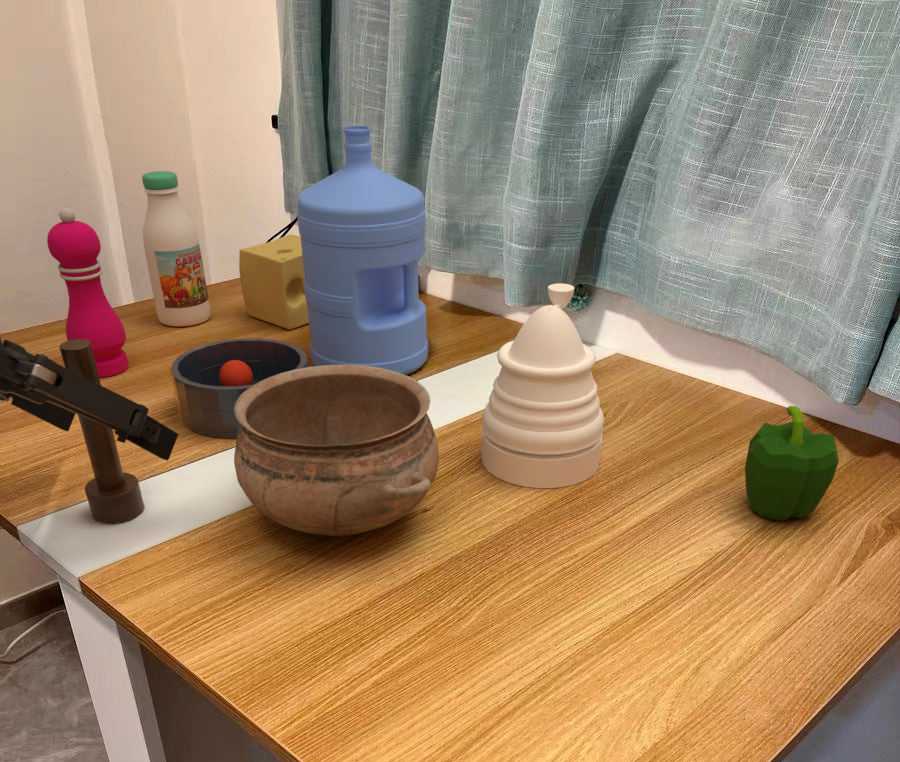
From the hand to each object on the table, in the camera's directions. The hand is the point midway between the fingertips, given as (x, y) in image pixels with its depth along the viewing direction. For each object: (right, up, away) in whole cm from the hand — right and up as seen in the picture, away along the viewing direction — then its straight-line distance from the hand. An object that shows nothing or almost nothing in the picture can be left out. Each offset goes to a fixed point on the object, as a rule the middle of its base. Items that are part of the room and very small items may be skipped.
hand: (119, 432), depth 85 cm
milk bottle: (-8, +26, +48) cm, 55 cm away
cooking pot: (+21, -8, +2) cm, 23 cm away
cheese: (+8, +27, +49) cm, 56 cm away
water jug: (+21, +16, +34) cm, 43 cm away
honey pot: (+42, -1, +12) cm, 43 cm away
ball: (+6, +11, +23) cm, 26 cm away
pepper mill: (-14, +14, +32) cm, 38 cm away
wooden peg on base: (-1, -7, +3) cm, 8 cm away
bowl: (+7, +7, +22) cm, 24 cm away
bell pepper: (+65, -7, +3) cm, 65 cm away
